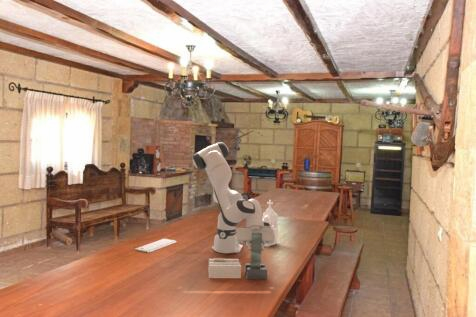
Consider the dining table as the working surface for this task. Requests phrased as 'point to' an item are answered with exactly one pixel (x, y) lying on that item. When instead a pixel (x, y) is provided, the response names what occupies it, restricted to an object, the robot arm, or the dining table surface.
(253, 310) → the dining table surface
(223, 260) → the pine offcut
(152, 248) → the white keyboard
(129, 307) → the dining table surface
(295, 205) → the dining table surface
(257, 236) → the teal board
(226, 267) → the white rack
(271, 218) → the religious statue
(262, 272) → the charcoal holder
